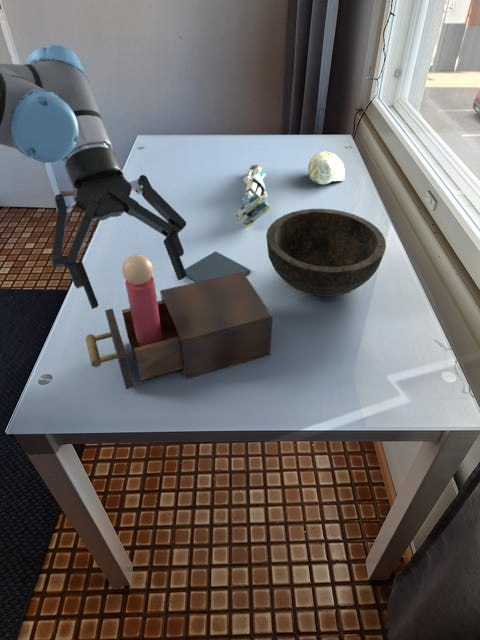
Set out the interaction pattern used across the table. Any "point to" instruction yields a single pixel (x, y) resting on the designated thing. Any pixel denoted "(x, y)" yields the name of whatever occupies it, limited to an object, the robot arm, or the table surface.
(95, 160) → the robot arm
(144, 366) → the drawer
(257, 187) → the figurine
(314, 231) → the bowl
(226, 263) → the mat
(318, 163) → the seashell
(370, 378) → the table surface
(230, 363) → the cabinet
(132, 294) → the ball-topped pink peg
